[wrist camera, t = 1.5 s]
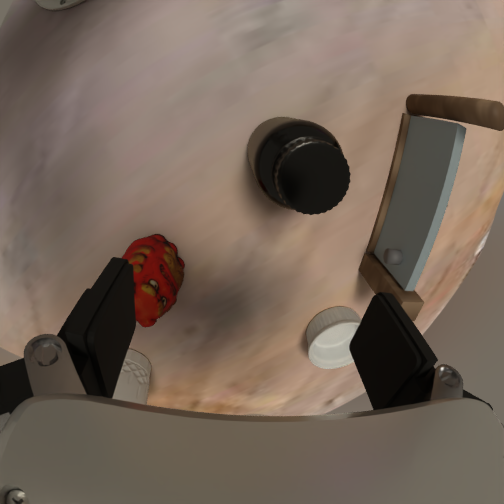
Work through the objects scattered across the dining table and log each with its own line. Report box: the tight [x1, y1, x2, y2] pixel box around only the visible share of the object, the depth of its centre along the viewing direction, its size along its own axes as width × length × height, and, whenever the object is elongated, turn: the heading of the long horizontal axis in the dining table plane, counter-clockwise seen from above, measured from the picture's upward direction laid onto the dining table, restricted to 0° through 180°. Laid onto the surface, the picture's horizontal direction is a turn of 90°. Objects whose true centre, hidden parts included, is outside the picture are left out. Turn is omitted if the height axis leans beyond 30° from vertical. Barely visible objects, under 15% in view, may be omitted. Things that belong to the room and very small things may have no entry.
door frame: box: [359, 94, 504, 321], centre depth 24 cm, size 23×3×13 cm, turn 171°
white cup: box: [112, 349, 151, 405], centre depth 35 cm, size 8×8×10 cm
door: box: [374, 116, 466, 291], centre depth 25 cm, size 17×3×8 cm, turn 171°
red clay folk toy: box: [122, 234, 185, 327], centre depth 25 cm, size 8×7×15 cm
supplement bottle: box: [247, 117, 350, 215], centre depth 22 cm, size 7×7×12 cm
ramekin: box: [306, 307, 361, 369], centre depth 37 cm, size 9×9×4 cm
